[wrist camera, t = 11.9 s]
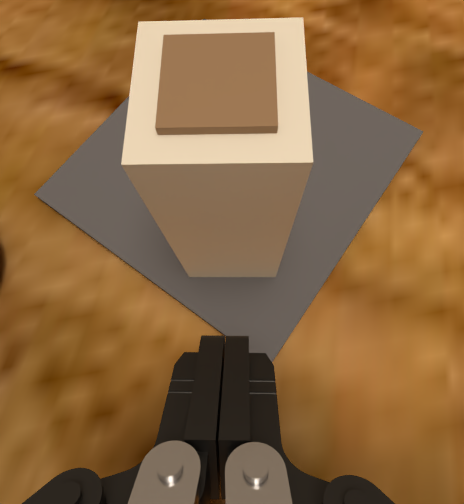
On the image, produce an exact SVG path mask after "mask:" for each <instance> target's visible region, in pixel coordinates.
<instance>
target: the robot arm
mask: <svg viewBox="0 0 464 504" xmlns="http://www.w3.org/2000/svg"><path fill="white" fill-rule="evenodd" d="M220 477H221V495H222V499H226V504H394V503H393V502H392V501H391V500H390V499H389V498H388V497H387V496H386V495H385V494H384V493H383V492H382V491H381V490H380V489H378V488H377V487H376V486H375V485H374V484H372V483H371V482H369V481H368V480H366V479H363V478H361V477H358V476H353V475H344V476H340V477H337V478H335V479H334V480H332V481H331V482H330V483H329V482H326V481H324V480H321V479H318V478H316V477H313V476H310V475H308V474H306V473H304V472H302V471H300V470H299V469H297V468H296V467H295V466H294V465H293V464H292V463H291V462H290V461H289V459H288V458H287V457H286V455H285V453H284V451H283V448H282V444H281V436H280V426H279V415H278V405H277V395H276V384H275V373H274V365H273V363H272V362H271V360H270V359H269V357H268V356H267V354H266V353H249V336H226V343H225V336H201V340H200V346H199V352H184V353H183V355H182V356H181V357H180V358H179V360H178V361H177V362H176V364H175V365H174V370H173V374H172V378H171V382H170V386H169V390H168V395H167V399H166V403H165V407H164V411H163V415H162V419H161V424H160V428H159V432H158V436H157V440H156V443H155V445H154V447H153V449H152V450H151V451H150V452H149V453H148V454H147V455H146V456H145V458H144V460H143V461H142V462H141V463H140V464H138V465H137V466H135V467H133V468H132V469H130V470H127V471H124V472H121V473H118V474H115V475H112V476H108V477H105V478H102V479H100V478H99V477H98V475H97V474H96V473H95V472H93V471H91V470H89V469H86V468H75V469H71V470H68V471H65V472H63V473H61V474H59V475H58V476H56V477H55V478H53V479H52V480H51V481H50V482H48V483H47V484H46V485H45V486H43V487H42V488H41V489H40V490H38V491H37V492H36V493H35V494H33V495H32V496H31V497H30V498H28V499H27V500H26V501H25V502H23V503H22V504H210V499H219V493H220Z"/></svg>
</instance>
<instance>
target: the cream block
mask: <svg viewBox="0 0 464 504" xmlns="http://www.w3.org/2000/svg"><path fill="white" fill-rule="evenodd" d="M121 165H122V167H123V169H124V170H125V172H126V174H127V175H128V177H129V178H130V180H131V182H132V183H133V185H134V187H135V188H136V190H137V192H138V193H139V195H140V197H141V198H142V200H143V202H144V203H145V205H146V207H147V208H148V210H149V212H150V213H151V215H152V217H153V218H154V220H155V221H156V223H157V225H158V226H159V228H160V230H161V231H162V233H163V235H164V236H165V238H166V240H167V241H168V243H169V245H170V246H171V248H172V250H173V251H174V253H175V255H176V256H177V258H178V259H179V261H180V263H181V264H182V266H183V268H184V269H185V271H186V273H187V274H188V276H189V277H276V274H277V271H278V268H279V265H280V262H281V259H282V256H283V253H284V250H285V247H286V244H287V241H288V238H289V235H290V232H291V229H292V226H293V223H294V220H295V217H296V214H297V211H298V208H299V205H300V201H301V198H302V195H303V192H304V189H305V186H306V183H307V180H308V177H309V174H310V171H311V168H312V165H313V150H312V136H311V122H310V108H309V94H308V80H307V67H306V53H305V39H304V25H303V18H268V19H229V20H190V21H152V22H138V29H137V38H136V46H135V54H134V63H133V71H132V79H131V87H130V96H129V104H128V112H127V120H126V129H125V137H124V145H123V153H122V162H121Z"/></svg>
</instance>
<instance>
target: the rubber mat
mask: <svg viewBox="0 0 464 504" xmlns="http://www.w3.org/2000/svg"><path fill="white" fill-rule="evenodd" d="M203 20H206V19H203ZM307 80H308V94H309V108H310V122H311V136H312V150H313V165H312V168H311V171H310V174H309V177H308V180H307V183H306V186H305V189H304V192H303V195H302V198H301V201H300V205H299V208H298V211H297V214H296V217H295V220H294V223H293V226H292V229H291V232H290V235H289V238H288V241H287V244H286V247H285V250H284V253H283V256H282V259H281V262H280V265H279V268H278V271H277V274H276V277H189V276H188V274H187V273H186V271H185V269H184V268H183V266H182V264H181V263H180V261H179V259H178V258H177V256H176V255H175V253H174V251H173V250H172V248H171V246H170V245H169V243H168V241H167V240H166V238H165V236H164V235H163V233H162V231H161V230H160V228H159V226H158V225H157V223H156V221H155V220H154V218H153V217H152V215H151V213H150V212H149V210H148V208H147V207H146V205H145V203H144V202H143V200H142V198H141V197H140V195H139V193H138V192H137V190H136V188H135V187H134V185H133V183H132V182H131V180H130V178H129V177H128V175H127V174H126V172H125V170H124V169H123V167H122V165H121V162H122V153H123V145H124V137H125V129H126V120H127V112H128V104H129V97H128V98H127V99H126V100H125V101H124V102H123V103H122V104H121V105H120V106H119V107H118V108H117V109H116V110H115V111H114V112H113V113H112V114H111V115H110V116H109V117H108V119H107V120H106V121H105V122H104V123H103V124H102V125H101V126H100V127H99V128H98V129H97V130H96V131H95V132H94V133H93V134H92V135H91V136H90V137H89V138H88V139H87V140H86V141H85V142H84V143H83V144H82V145H81V146H80V148H79V149H78V150H77V151H76V152H75V153H74V154H73V155H72V156H71V157H70V158H69V159H68V160H67V161H66V162H65V163H64V164H63V165H62V166H61V167H60V168H59V169H58V170H57V171H56V172H55V173H54V174H53V175H52V177H51V178H50V179H49V180H48V181H47V182H46V183H45V184H44V185H43V186H42V187H41V188H40V189H39V190H38V191H37V192H36V193H35V195H36V196H37V197H38V198H39V199H41V200H42V201H43V202H45V203H46V204H47V205H49V206H50V207H52V208H53V209H54V210H56V211H57V212H58V213H60V214H61V215H62V216H64V217H65V218H66V219H68V220H69V221H70V222H72V223H73V224H75V225H76V226H77V227H79V228H80V229H81V230H83V231H84V232H85V233H87V234H88V235H89V236H91V237H92V238H94V239H95V240H96V241H98V242H99V243H100V244H102V245H103V246H104V247H106V248H107V249H108V250H110V251H111V252H113V253H114V254H115V255H117V256H118V257H119V258H121V259H122V260H123V261H125V262H126V263H127V264H129V265H130V266H131V267H133V268H134V269H136V270H137V271H138V272H140V273H141V274H142V275H144V276H145V277H146V278H148V279H149V280H150V281H152V282H153V283H155V284H156V285H157V286H159V287H160V288H161V289H163V290H164V291H165V292H167V293H168V294H169V295H171V296H172V297H174V298H175V299H176V300H178V301H179V302H180V303H182V304H183V305H184V306H186V307H187V308H188V309H190V310H191V311H192V312H194V313H195V314H197V315H198V316H199V317H201V318H202V319H203V320H205V321H206V322H207V323H209V324H210V325H211V326H213V327H214V328H216V329H217V330H218V331H220V332H221V333H222V334H224V335H225V336H249V353H266V354H267V356H268V357H269V359H270V360H271V362H273V360H274V359H275V357H276V355H277V354H278V352H279V351H280V349H281V348H282V346H283V345H284V343H285V342H286V340H287V339H288V337H289V336H290V334H291V333H292V331H293V330H294V328H295V327H296V325H297V323H298V322H299V320H300V319H301V317H302V316H303V314H304V313H305V311H306V310H307V308H308V307H309V305H310V304H311V302H312V301H313V299H314V298H315V296H316V295H317V293H318V291H319V290H320V288H321V287H322V285H323V284H324V282H325V281H326V279H327V278H328V276H329V275H330V273H331V272H332V270H333V269H334V267H335V266H336V264H337V263H338V261H339V259H340V258H341V256H342V255H343V253H344V252H345V250H346V249H347V247H348V246H349V244H350V243H351V241H352V240H353V238H354V237H355V235H356V234H357V232H358V231H359V229H360V227H361V226H362V224H363V223H364V221H365V220H366V218H367V217H368V215H369V214H370V212H371V211H372V209H373V208H374V206H375V205H376V203H377V202H378V200H379V199H380V197H381V196H382V194H383V192H384V191H385V189H386V188H387V186H388V185H389V183H390V182H391V180H392V179H393V177H394V176H395V174H396V173H397V171H398V170H399V168H400V167H401V165H402V164H403V162H404V160H405V159H406V157H407V156H408V154H409V153H410V151H411V150H412V148H413V147H414V145H415V144H416V142H417V141H418V139H419V138H420V136H421V135H422V133H423V131H421V130H419V129H417V128H415V127H413V126H411V125H409V124H408V123H406V122H404V121H402V120H400V119H398V118H396V117H394V116H392V115H390V114H388V113H386V112H384V111H382V110H380V109H378V108H376V107H375V106H373V105H371V104H369V103H367V102H365V101H363V100H361V99H359V98H357V97H355V96H353V95H351V94H349V93H347V92H345V91H343V90H342V89H340V88H338V87H336V86H334V85H332V84H330V83H328V82H326V81H324V80H322V79H320V78H318V77H316V76H314V75H312V74H310V73H309V72H307Z"/></svg>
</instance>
